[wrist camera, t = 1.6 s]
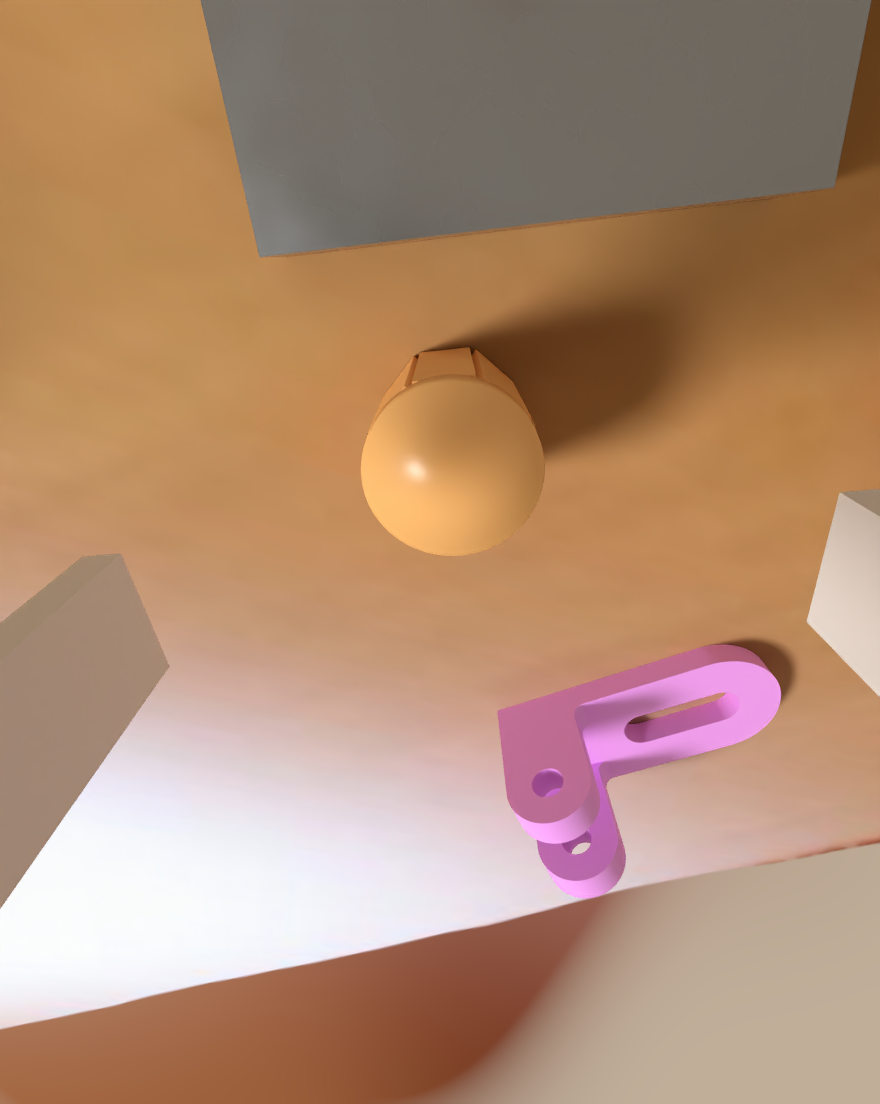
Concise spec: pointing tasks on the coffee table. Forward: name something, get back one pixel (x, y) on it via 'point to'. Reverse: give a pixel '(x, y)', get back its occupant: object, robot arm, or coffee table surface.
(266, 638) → the coffee table surface
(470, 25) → the block
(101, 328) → the coffee table surface
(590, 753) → the bracket
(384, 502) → the orange faceted knob
